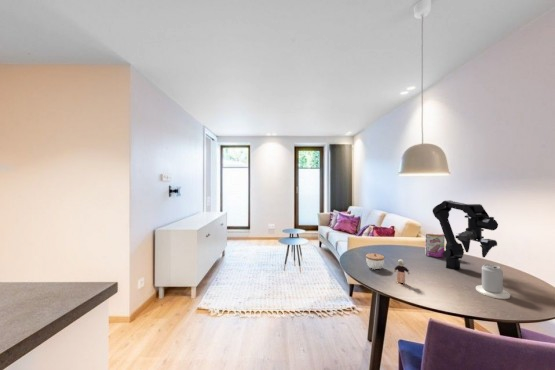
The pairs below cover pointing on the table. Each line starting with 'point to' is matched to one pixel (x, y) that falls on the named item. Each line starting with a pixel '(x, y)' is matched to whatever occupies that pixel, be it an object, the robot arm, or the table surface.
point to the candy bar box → (434, 244)
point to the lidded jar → (375, 261)
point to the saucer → (494, 295)
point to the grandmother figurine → (401, 271)
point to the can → (492, 278)
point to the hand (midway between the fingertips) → (475, 254)
